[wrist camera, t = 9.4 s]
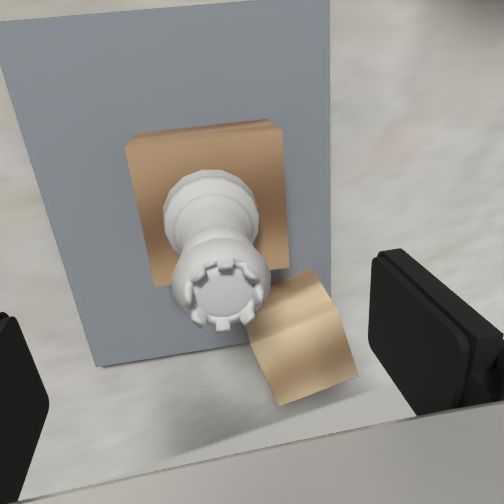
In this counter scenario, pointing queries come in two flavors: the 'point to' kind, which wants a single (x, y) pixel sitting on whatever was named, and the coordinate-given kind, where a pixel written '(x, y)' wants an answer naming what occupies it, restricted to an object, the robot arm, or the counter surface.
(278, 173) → the wooden block
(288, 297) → the oak block
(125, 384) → the counter surface
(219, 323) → the rook chess piece
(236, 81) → the slate mat
